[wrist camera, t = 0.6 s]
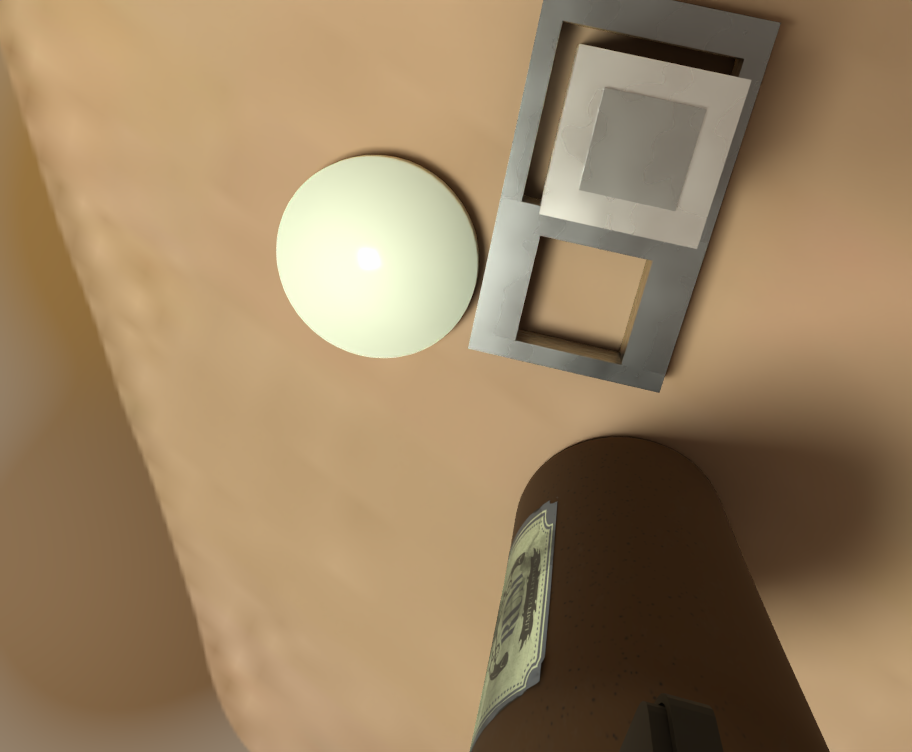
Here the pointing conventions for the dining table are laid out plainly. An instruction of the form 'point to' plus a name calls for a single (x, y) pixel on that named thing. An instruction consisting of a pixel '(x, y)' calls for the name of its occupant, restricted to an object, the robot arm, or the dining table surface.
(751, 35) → the metal rectangular frame
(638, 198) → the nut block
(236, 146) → the dining table surface
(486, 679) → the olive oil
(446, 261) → the cream dome cap
